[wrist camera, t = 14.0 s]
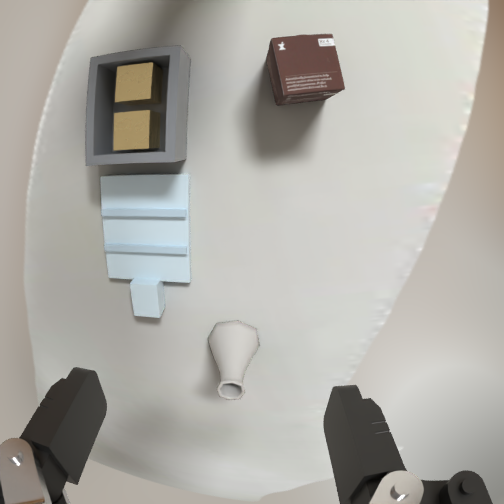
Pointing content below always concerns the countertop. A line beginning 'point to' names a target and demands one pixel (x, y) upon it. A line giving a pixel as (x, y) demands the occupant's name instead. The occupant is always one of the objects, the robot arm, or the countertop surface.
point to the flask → (233, 355)
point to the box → (304, 68)
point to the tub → (137, 106)
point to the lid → (147, 234)
